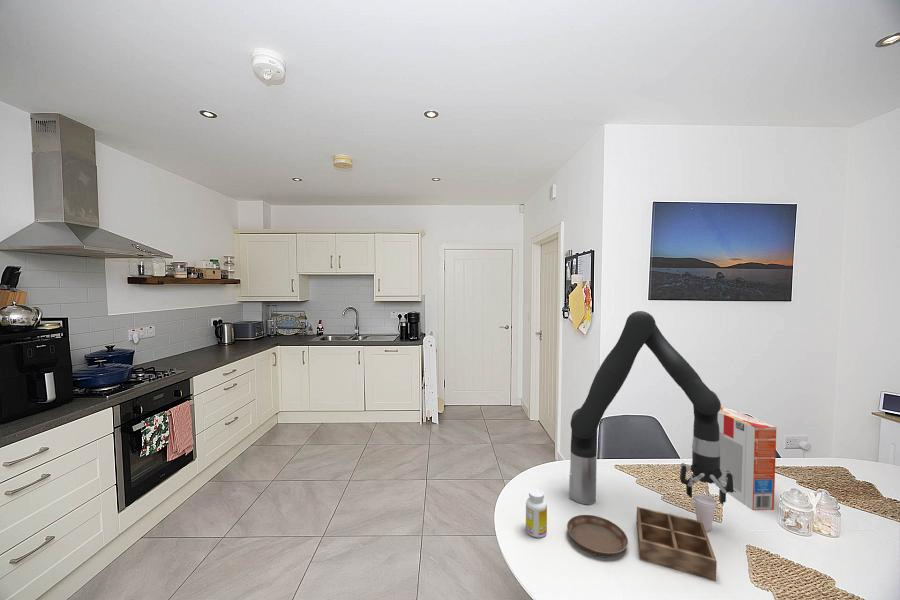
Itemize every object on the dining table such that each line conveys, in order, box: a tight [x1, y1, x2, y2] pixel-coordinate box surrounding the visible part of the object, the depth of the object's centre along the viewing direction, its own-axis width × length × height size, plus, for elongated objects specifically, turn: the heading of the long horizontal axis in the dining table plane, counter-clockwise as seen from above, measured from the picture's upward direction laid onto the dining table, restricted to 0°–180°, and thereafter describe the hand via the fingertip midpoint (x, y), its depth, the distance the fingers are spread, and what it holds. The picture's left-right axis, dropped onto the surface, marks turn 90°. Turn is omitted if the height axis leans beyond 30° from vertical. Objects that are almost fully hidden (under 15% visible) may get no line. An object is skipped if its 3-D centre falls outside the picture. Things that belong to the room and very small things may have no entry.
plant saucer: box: [566, 514, 629, 558], centre depth 113 cm, size 18×18×3 cm
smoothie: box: [692, 485, 718, 532], centre depth 120 cm, size 6×6×14 cm
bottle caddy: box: [636, 506, 718, 582], centre depth 110 cm, size 18×18×6 cm
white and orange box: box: [712, 405, 777, 511], centre depth 141 cm, size 23×8×30 cm, turn 3°
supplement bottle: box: [525, 488, 548, 538], centre depth 117 cm, size 7×7×13 cm
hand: (705, 499), depth 120 cm, fingers open, 8 cm apart
